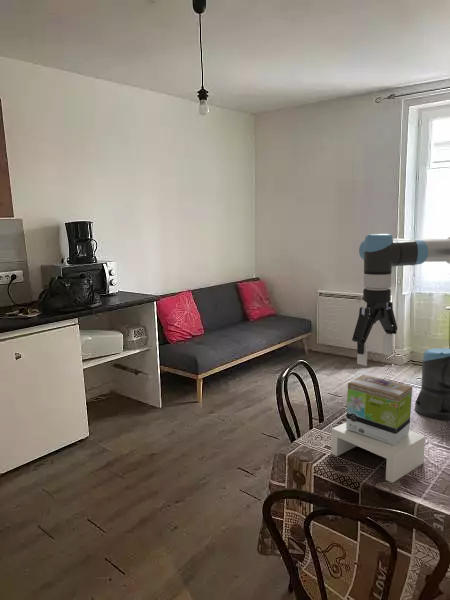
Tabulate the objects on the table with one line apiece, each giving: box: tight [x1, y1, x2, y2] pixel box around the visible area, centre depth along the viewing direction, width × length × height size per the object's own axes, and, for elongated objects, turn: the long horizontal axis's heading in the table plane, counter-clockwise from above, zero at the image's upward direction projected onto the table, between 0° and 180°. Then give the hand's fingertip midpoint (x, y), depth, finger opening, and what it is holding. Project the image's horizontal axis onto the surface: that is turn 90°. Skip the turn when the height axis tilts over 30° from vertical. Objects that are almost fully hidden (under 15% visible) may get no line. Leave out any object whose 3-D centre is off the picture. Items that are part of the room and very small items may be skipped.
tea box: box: [345, 374, 413, 446], centre depth 128 cm, size 15×10×15 cm
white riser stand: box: [330, 421, 426, 484], centre depth 130 cm, size 16×20×8 cm
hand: (375, 359), depth 133 cm, fingers open, 13 cm apart
